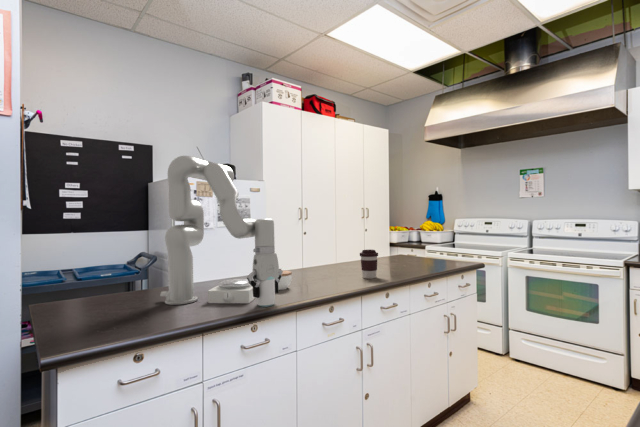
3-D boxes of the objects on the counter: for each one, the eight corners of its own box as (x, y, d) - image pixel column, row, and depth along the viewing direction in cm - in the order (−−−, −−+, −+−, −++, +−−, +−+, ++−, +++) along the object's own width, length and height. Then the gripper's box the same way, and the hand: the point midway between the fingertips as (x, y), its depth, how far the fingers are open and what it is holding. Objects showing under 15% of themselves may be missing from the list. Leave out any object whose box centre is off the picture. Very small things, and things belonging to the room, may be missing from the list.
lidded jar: (265, 290, 164) (264, 270, 164) (276, 285, 174) (275, 266, 174) (285, 291, 160) (284, 270, 160) (295, 286, 170) (295, 267, 170)
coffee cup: (380, 279, 185) (379, 250, 186) (361, 279, 186) (360, 251, 186) (377, 275, 195) (376, 249, 195) (359, 276, 195) (358, 249, 196)
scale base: (207, 303, 140) (207, 291, 140) (223, 293, 158) (223, 282, 158) (248, 303, 139) (248, 291, 139) (260, 293, 156) (260, 282, 156)
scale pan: (212, 287, 142) (212, 285, 142) (225, 281, 156) (225, 278, 156) (246, 287, 141) (246, 285, 141) (256, 281, 155) (256, 278, 155)
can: (275, 306, 133) (275, 274, 133) (257, 307, 132) (256, 276, 132) (274, 302, 140) (273, 272, 140) (256, 303, 139) (255, 273, 139)
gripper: (253, 253, 127) (254, 300, 127) (287, 249, 140) (288, 292, 140) (240, 252, 132) (241, 297, 132) (275, 248, 145) (276, 289, 145)
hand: (266, 294), depth 136 cm, fingers open, 9 cm apart
